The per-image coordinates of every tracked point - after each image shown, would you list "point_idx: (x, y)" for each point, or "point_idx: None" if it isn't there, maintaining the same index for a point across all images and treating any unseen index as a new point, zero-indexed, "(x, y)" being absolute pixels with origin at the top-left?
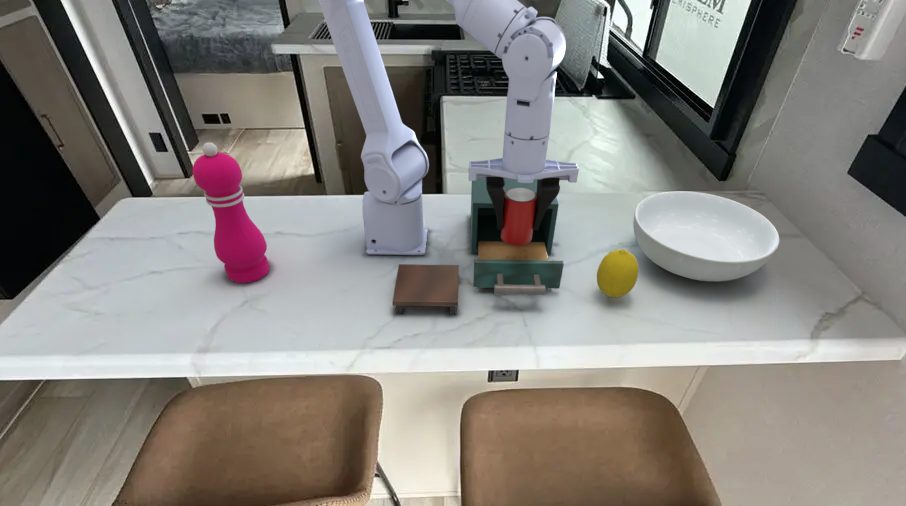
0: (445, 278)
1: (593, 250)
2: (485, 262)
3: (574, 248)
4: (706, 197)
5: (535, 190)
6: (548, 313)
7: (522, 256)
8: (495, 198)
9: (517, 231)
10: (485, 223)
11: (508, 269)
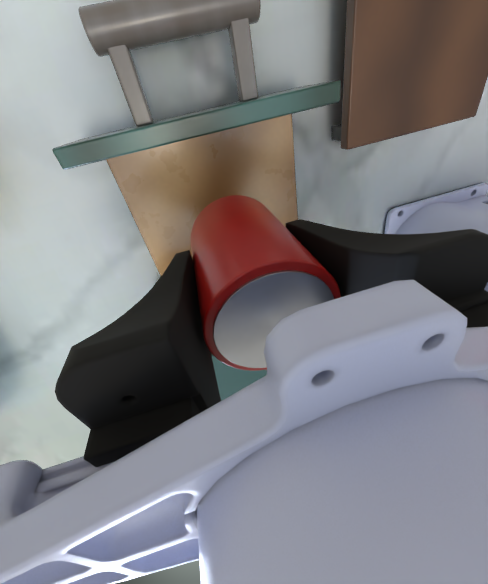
0: (382, 70)
1: (78, 323)
2: (307, 89)
3: (117, 317)
4: None
5: (221, 400)
6: (75, 19)
7: None
8: (406, 238)
9: (239, 210)
10: None
11: (229, 105)
